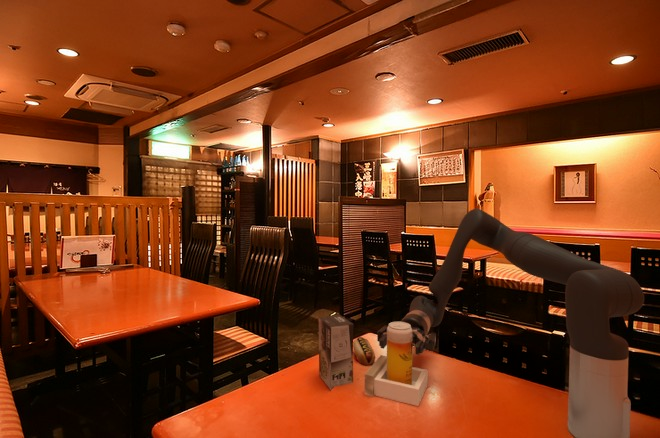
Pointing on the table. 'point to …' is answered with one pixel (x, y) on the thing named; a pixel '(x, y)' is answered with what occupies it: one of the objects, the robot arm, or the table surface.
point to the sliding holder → (402, 387)
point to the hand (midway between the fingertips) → (399, 347)
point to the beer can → (399, 352)
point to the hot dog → (364, 351)
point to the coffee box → (335, 350)
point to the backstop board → (373, 375)
